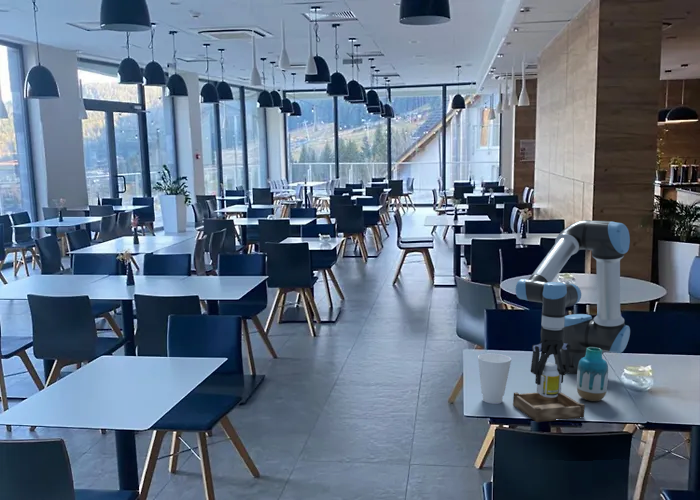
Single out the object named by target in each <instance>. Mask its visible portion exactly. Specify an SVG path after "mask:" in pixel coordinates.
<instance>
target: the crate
mask: <svg viewBox="0 0 700 500" xmlns="http://www.w3.org/2000/svg"><path fill="white" fill-rule="evenodd" d="M512 399H513V402H512V406H514V407H515V409H516V408H517V410H519V411H521V412H522V414H524V415H526V416H527V417H528V418H530V419H532V420H533V421H534V422H536V423H542V422H553V421H554V422H555V421H557V420H556V419H566V420H573V419H574V420H575V418H576V419H581V418H580V417H584V418H585V410H586V409H585V404H584V403H580V402H579V401H577V400H574V399H573V398H572V397H569V396H568V395H566V394H565V393H563V392H561V393H558V396H557V397H554V398H548V397H544V396H541V395H540V394H539V393H537V392H524V393H519V392H517V391H516V392H513V397H512Z"/></svg>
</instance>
